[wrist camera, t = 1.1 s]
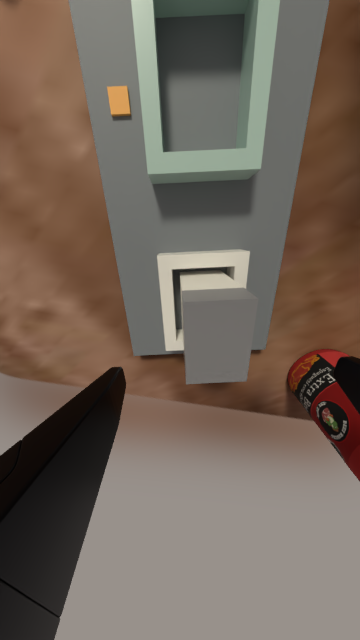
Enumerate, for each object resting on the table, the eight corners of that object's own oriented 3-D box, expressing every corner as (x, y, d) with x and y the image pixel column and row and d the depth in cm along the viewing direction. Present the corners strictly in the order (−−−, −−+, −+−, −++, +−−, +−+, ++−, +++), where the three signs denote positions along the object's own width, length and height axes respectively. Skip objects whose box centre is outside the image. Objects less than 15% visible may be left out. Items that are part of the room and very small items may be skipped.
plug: (219, 269, 16) (258, 298, 8) (217, 322, 18) (246, 381, 10) (179, 272, 16) (182, 302, 8) (181, 323, 18) (186, 384, 10)
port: (265, -18, 9) (290, -87, 7) (247, 179, 13) (260, 168, 11) (134, -12, 9) (123, -79, 7) (152, 184, 13) (147, 174, 11)
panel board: (317, -12, 10) (341, -55, 9) (259, 341, 21) (266, 350, 19) (76, 0, 10) (59, -41, 9) (136, 347, 20) (133, 356, 19)
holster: (240, 249, 15) (249, 251, 13) (232, 335, 18) (239, 347, 16) (159, 253, 15) (156, 255, 13) (166, 338, 18) (165, 351, 16)
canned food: (300, 343, 21) (415, 441, 11) (362, 350, 21) (527, 450, 11) (275, 391, 24) (347, 503, 14) (331, 397, 25) (438, 507, 15)
